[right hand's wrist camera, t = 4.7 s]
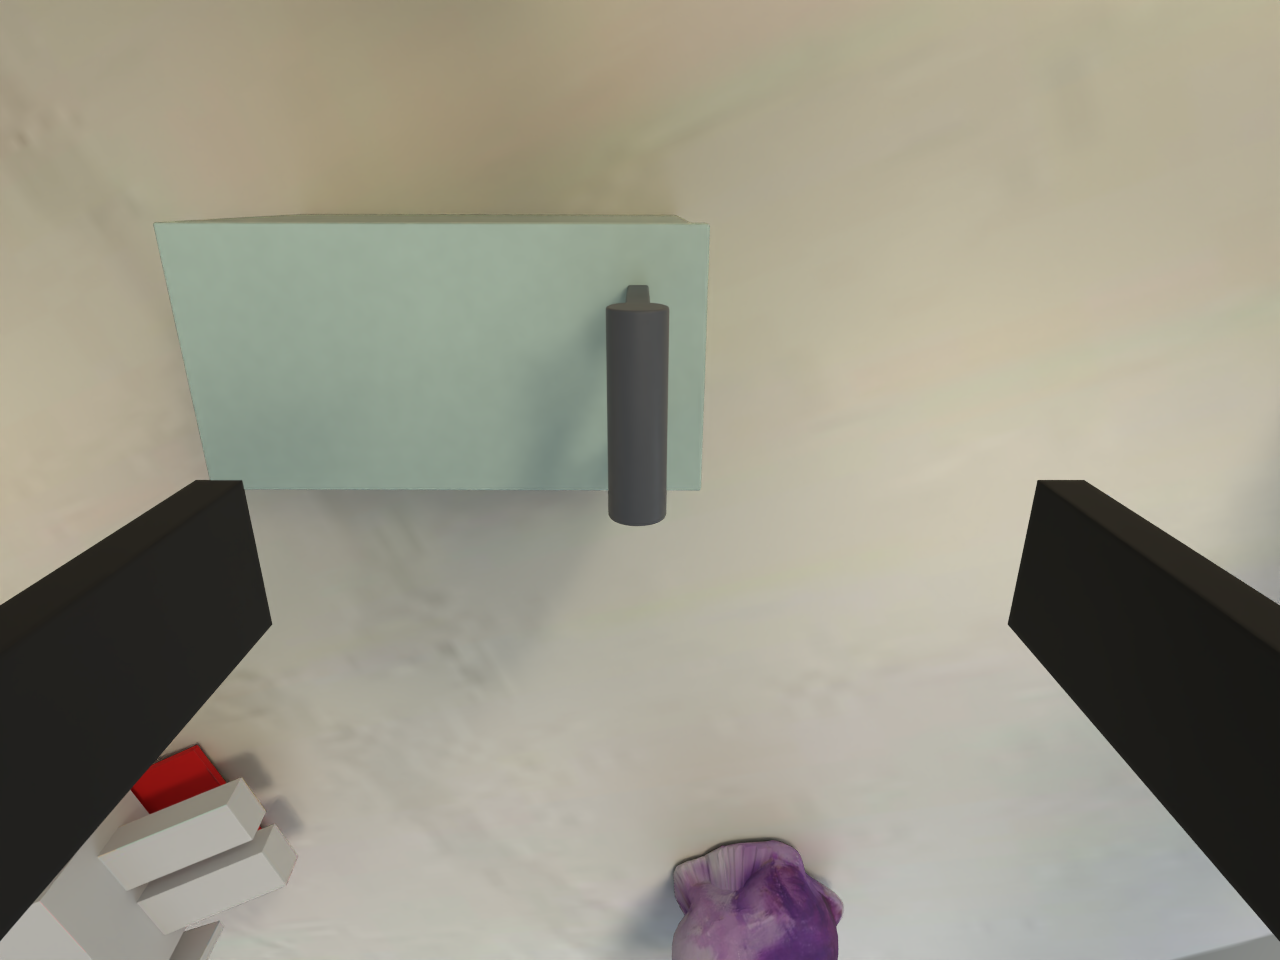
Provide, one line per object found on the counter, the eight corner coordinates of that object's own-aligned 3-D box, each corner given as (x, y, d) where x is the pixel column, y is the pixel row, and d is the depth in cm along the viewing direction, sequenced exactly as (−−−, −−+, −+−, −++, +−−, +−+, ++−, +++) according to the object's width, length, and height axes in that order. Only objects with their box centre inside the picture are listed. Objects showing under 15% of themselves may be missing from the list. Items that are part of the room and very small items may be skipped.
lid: (707, 222, 25) (736, 234, 17) (698, 480, 28) (720, 584, 20) (171, 221, 25) (-34, 232, 17) (226, 479, 28) (75, 583, 20)
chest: (677, 215, 34) (691, 222, 25) (673, 409, 37) (684, 480, 28) (300, 214, 34) (172, 221, 25) (330, 408, 37) (226, 479, 28)
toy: (284, 994, 39) (-251, 1211, 38) (348, 808, 51) (-55, 971, 51) (152, 826, 35) (-446, 1069, 34) (256, 669, 47) (-181, 846, 47)
